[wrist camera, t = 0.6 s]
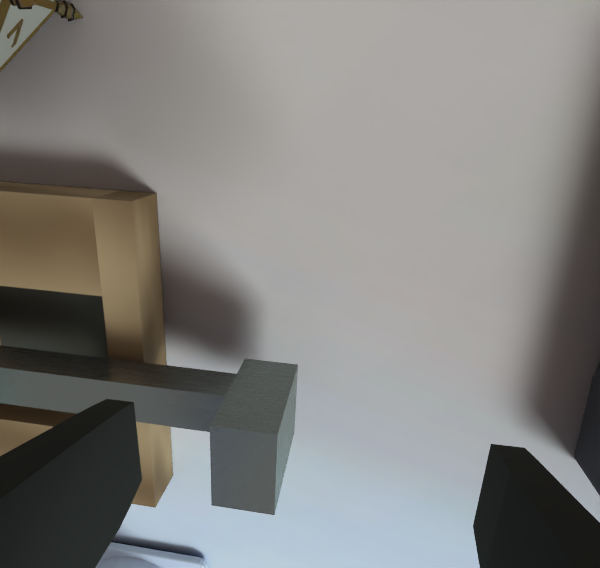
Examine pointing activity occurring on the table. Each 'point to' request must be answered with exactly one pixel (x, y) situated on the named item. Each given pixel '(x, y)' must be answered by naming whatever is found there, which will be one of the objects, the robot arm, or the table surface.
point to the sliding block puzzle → (591, 435)
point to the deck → (83, 297)
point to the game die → (26, 22)
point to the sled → (177, 409)
